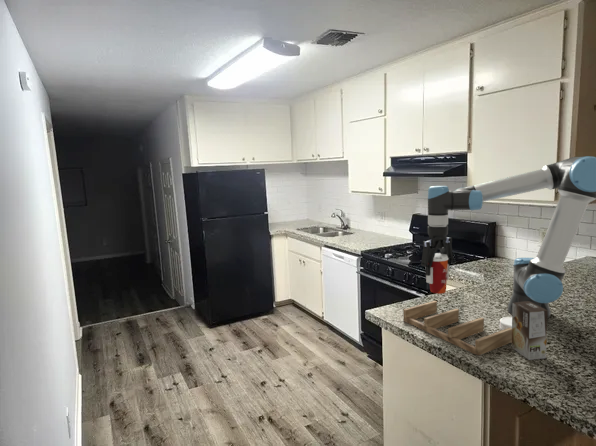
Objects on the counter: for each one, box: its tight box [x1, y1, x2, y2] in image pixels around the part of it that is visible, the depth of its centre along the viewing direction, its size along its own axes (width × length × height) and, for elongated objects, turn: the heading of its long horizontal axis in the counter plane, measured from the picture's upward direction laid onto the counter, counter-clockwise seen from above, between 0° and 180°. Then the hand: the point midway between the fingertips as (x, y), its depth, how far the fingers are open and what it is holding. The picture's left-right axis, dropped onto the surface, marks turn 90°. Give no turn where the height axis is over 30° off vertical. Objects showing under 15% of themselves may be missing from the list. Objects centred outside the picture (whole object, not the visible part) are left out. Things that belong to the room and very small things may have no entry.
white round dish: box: [499, 316, 512, 331], centre depth 145 cm, size 10×10×4 cm
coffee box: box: [511, 301, 548, 361], centre depth 126 cm, size 9×6×16 cm
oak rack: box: [402, 300, 512, 357], centre depth 146 cm, size 35×18×5 cm, turn 28°
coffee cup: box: [428, 252, 449, 295], centre depth 155 cm, size 8×8×15 cm
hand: (437, 280), depth 156 cm, fingers closed on coffee cup, 8 cm apart
